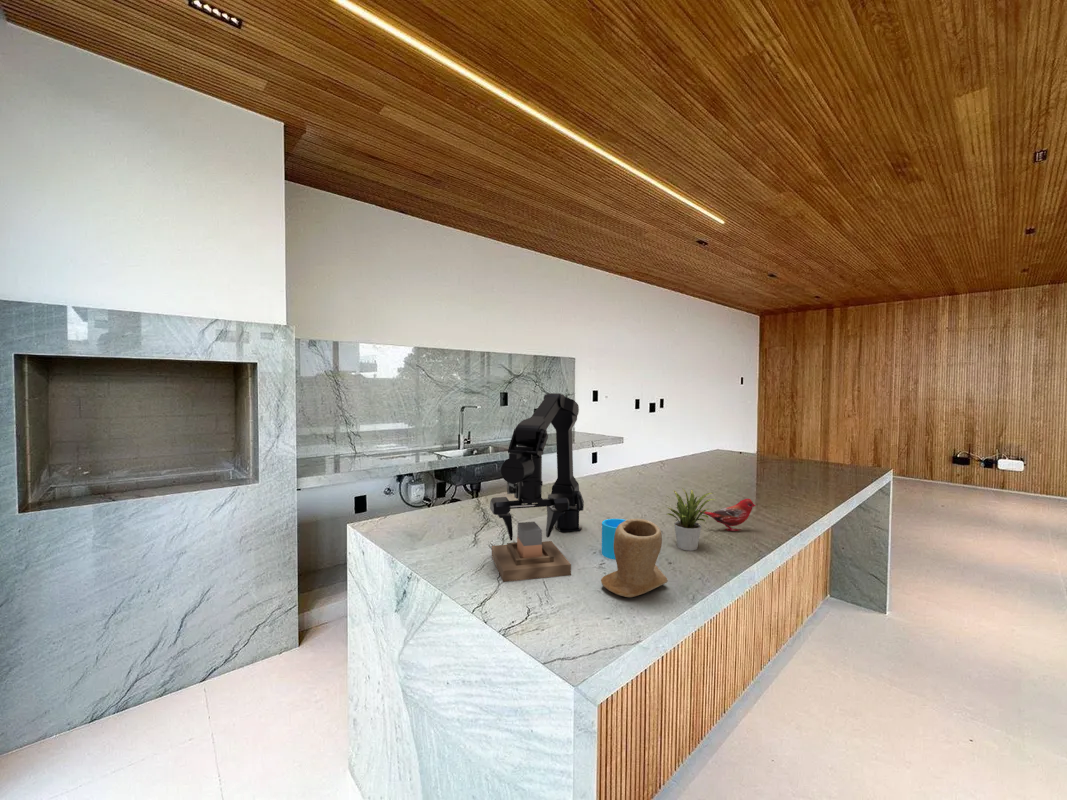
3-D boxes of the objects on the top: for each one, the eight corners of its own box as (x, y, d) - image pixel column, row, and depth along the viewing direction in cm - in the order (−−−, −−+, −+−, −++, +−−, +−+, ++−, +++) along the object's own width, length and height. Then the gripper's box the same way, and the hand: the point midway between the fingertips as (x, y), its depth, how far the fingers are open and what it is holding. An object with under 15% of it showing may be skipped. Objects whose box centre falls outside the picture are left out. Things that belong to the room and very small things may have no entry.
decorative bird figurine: (757, 533, 138) (758, 500, 138) (697, 532, 139) (698, 499, 138) (753, 529, 141) (753, 497, 141) (694, 529, 141) (695, 496, 141)
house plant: (728, 547, 126) (730, 488, 125) (708, 562, 116) (709, 497, 115) (679, 535, 136) (680, 480, 135) (656, 547, 126) (657, 488, 125)
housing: (541, 559, 110) (542, 530, 110) (523, 560, 109) (523, 531, 109) (534, 548, 117) (534, 521, 117) (517, 550, 116) (517, 522, 116)
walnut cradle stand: (551, 550, 123) (551, 536, 123) (570, 574, 108) (571, 559, 107) (491, 555, 119) (491, 541, 119) (503, 581, 104) (503, 565, 103)
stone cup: (633, 609, 92) (635, 535, 91) (593, 587, 101) (594, 519, 101) (682, 590, 100) (684, 522, 100) (641, 571, 110) (642, 509, 109)
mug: (613, 562, 115) (614, 530, 115) (595, 551, 123) (595, 520, 122) (651, 554, 121) (652, 523, 120) (631, 544, 128) (632, 515, 128)
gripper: (556, 467, 122) (556, 525, 123) (486, 470, 118) (486, 530, 118) (570, 476, 112) (569, 539, 112) (494, 479, 107) (493, 546, 108)
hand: (529, 538), depth 113 cm, fingers open, 9 cm apart
